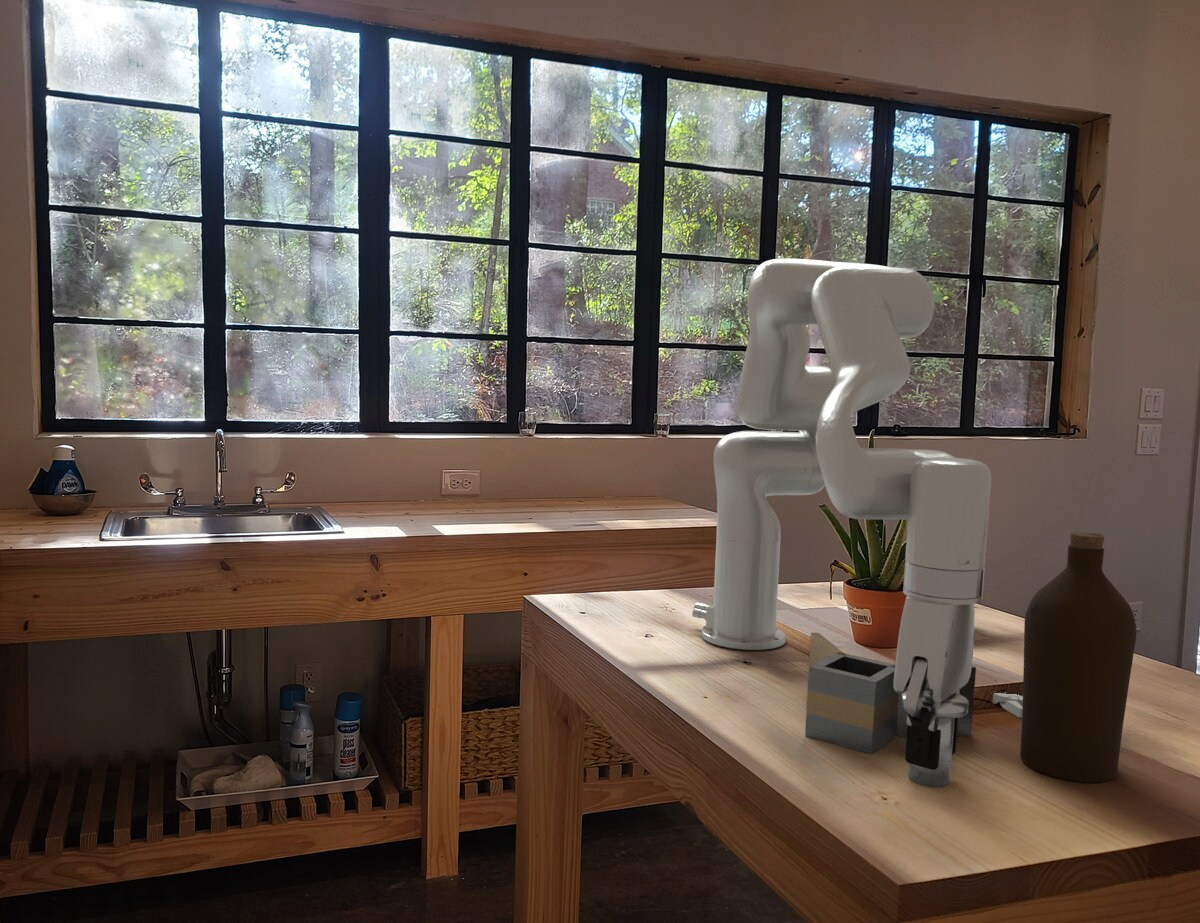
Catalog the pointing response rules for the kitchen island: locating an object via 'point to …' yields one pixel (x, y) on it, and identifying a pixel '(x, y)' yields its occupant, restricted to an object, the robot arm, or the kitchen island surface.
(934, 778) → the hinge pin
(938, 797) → the kitchen island surface
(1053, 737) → the olive oil
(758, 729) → the kitchen island surface
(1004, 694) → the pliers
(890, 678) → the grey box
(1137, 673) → the kitchen island surface
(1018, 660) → the kitchen island surface
